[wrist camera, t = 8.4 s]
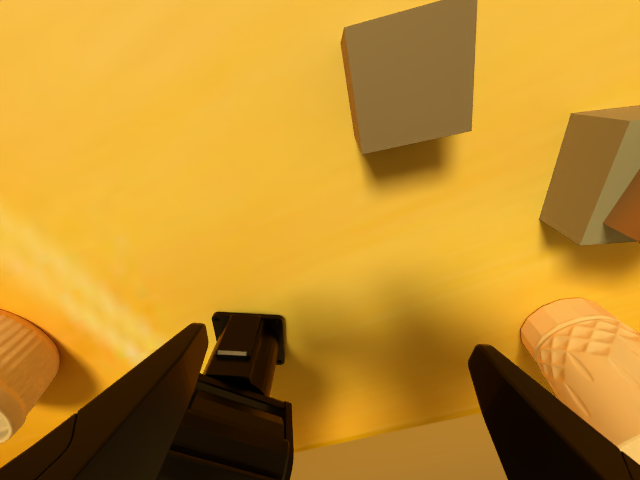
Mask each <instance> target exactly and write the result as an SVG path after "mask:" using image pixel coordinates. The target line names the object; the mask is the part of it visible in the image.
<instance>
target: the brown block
mask: <svg viewBox="0 0 640 480" xmlns="http://www.w3.org/2000/svg"><path fill="white" fill-rule="evenodd" d="M476 19H477V0H441V1H437V2H434V3H430V4H427V5H423V6H419V7H416V8H412V9H409V10H405V11H401V12H398V13H394V14H391V15H387V16H384V17H380V18H376V19H373V20H369V21H366V22H362V23H359V24H355V25H351V26H348V27H344V30H343V35H342V39H341V49H342V56H343V62H344V69H345V76H346V82H347V89H348V95H349V102H350V109H351V115H352V122H353V129H354V135H355V139H356V141H357V143H358V146H359V148H360V150H361V153H362V154H366V153H371V152H375V151H380V150H385V149H390V148H394V147H399V146H404V145H408V144H413V143H418V142H422V141H427V140H432V139H436V138H441V137H446V136H450V135H455V134H460V133H464V132H469V131H472V108H473V86H474V64H475V41H476Z"/></svg>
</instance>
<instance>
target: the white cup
mask: <svg viewBox="0 0 640 480" xmlns="http://www.w3.org/2000/svg"><path fill="white" fill-rule="evenodd" d="M521 341H522V342H523V344H524V345H525V347H526V348H527V350H528V351H529V353H530V354H531V356H532V357H533V359H534V360H535V361H536V363H537V364H538V367H539V369H540V371H541V373H542V375H543V376H544V378H545V379H546V381H547V382H548V384H549V385H550V386H551V388H552V390H553V392H554V393H555V395H556V397H557V398H558V400H560V401H561V402H562V403H563V404H565V405H566V406H567V407H568V408H570V409H571V410H572V411H573V412H575V413H576V414H577V415H578V416H580V417H581V418H582V419H583V420H585V421H586V422H587V423H588V424H590V425H591V426H592V427H593V428H594V429H596V430H597V431H598V432H599V433H601V434H602V435H603V436H604V437H606V438H607V439H608V440H609V441H611V442H612V443H613V444H614V445H616V446H617V447H618V448H619V449H620V451H623V452H624V453H626V454H627V455H628V456H629V457H631V458H632V459H633V460H634V461H636V462H637V463H638V464H639V465H640V333H639V332H637V331H636V330H634V329H632V328H631V327H629V326H627V325H625V324H624V323H622V322H621V321H620V320H619V319H617V318H616V317H615V316H614V315H612V314H611V313H610V312H608V311H607V310H606V309H605V308H603V307H602V306H601V305H599V304H598V303H597V302H594V301H590V300H587V299H583V298H571V299H561V300H558V301H555V302H552V303H550V304H547V305H545V306H542V307H541V308H539V309H538V310H537V311H535V312H534V313H533V314H531V315H530V316H529V317H528V318H527V319H526V321H525V323H524V324H523V326H522V328H521Z"/></svg>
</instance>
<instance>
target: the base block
mask: <svg viewBox="0 0 640 480" xmlns="http://www.w3.org/2000/svg"><path fill="white" fill-rule="evenodd" d="M639 169H640V105H638V106H629V107H621V108H612V109H604V110H595V111H586V112H578V113H571V116H570V119H569V122H568V125H567V129H566V132H565V135H564V139H563V142H562V145H561V149H560V152H559V155H558V158H557V162H556V165H555V168H554V172H553V175H552V178H551V182H550V185H549V188H548V191H547V195H546V198H545V201H544V205H543V208H542V211H541V215H540V218H539V219H540V220H541V221H543V222H544V223H546V224H548V225H549V226H551V227H552V228H554V229H555V230H557V231H558V232H560V233H561V234H563V235H564V236H566V237H567V238H569V239H570V240H572V241H573V242H575V243H576V244H578V245H579V246H581V245H594V244H607V243H621V242H634V241H636V240H634V239H632V238H630V237H628V236H627V235H625V234H623V233H621V232H619V231H617V230H615V229H613V228H611V227H609V226H607V225H606V224H604V223H603V222H604V221H605V219H606V218H607V216H608V215H609V213H610V212H611V210H612V209H613V207H614V206H615V204H616V203H617V201H618V200H619V198H620V197H621V196H622V194H623V193H624V191H625V190H626V188H627V187H628V185H629V184H630V182H631V181H632V179H633V178H634V176H635V175H636V173H637V172H638V170H639Z"/></svg>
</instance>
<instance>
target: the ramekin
mask: <svg viewBox="0 0 640 480" xmlns="http://www.w3.org/2000/svg"><path fill="white" fill-rule="evenodd" d="M59 362H60V355H59V351H58V349H57V347H56V345H55V344H54V342H53V341H52V340H51V339H50V338H49V337H48V336H47V335H46V334H45V333H44V332H43V331H42V330H41V329H39V328H38V327H36V326H35V325H33V324H32V323H30V322H29V321H27V320H25V319H23V318H21V317H19V316H17V315H15V314H12V313H10V312H7V311H4V310H1V309H0V444H1V443H3V442H5V441H7V440H9V439H10V438H11V437H12V436H13V435H14V434H15V433H16V432H17V431H18V430H19V428H20V427H21V426H22V425H23V424H24V422H25V419H26V415H27V414H28V413H29V412H30V410H31V409H32V408H33V407H34V405H35V404H36V403H37V401H38V400H39V399H40V397H41V396H42V395H43V393H44V392H45V391H46V389H47V388H48V386H49V385H50V384H51V382H52V381H53V379H54V377H55V376H56V374H57V372H58V369H59V366H60V363H59Z"/></svg>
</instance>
